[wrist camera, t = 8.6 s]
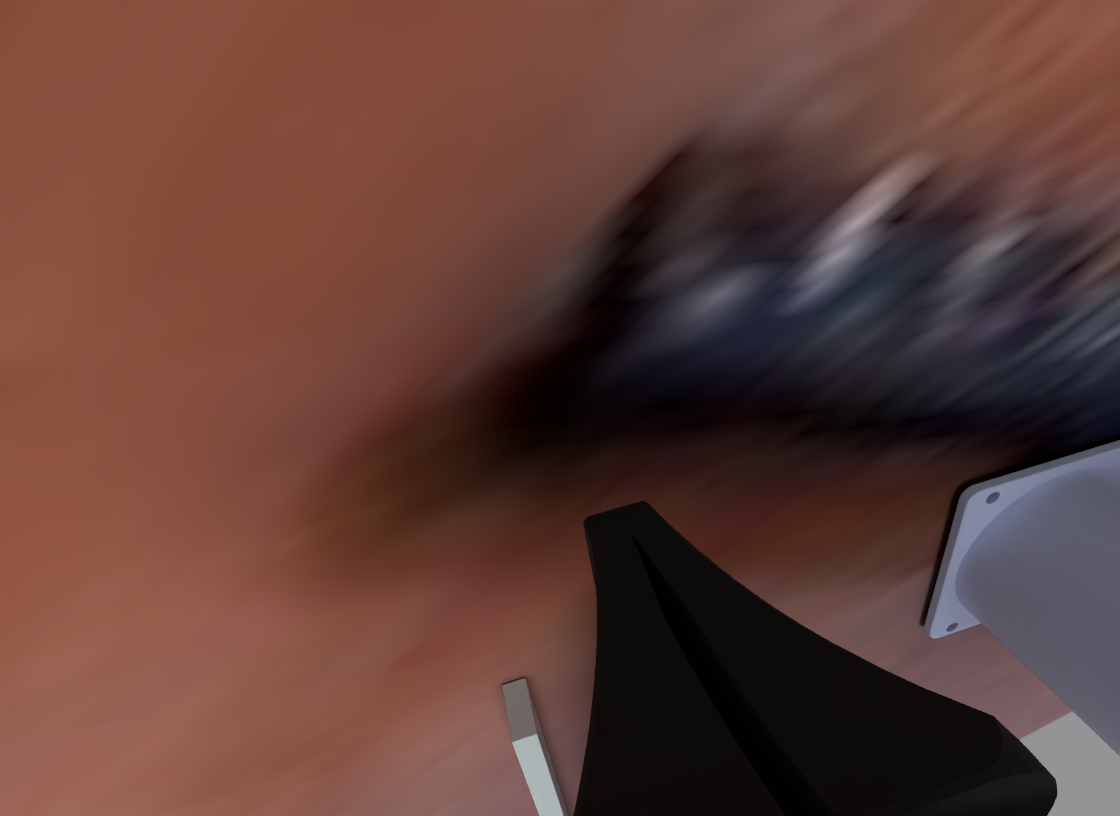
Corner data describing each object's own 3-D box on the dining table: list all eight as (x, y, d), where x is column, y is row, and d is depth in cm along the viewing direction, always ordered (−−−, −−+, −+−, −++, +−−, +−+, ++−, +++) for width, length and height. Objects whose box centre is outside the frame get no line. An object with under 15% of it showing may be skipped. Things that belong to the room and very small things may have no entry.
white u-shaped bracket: (710, 618, 21) (738, 667, 19) (715, 793, 28) (736, 840, 26) (502, 685, 20) (512, 742, 18) (560, 849, 27) (571, 901, 25)
